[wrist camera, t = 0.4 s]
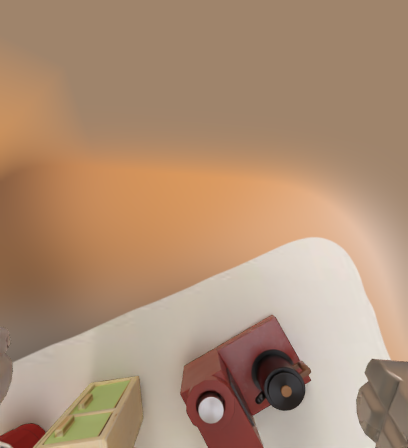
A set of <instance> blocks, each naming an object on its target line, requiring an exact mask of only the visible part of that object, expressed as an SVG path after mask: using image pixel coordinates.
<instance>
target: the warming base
mask: <svg viewBox="0 0 408 448" xmlns="http://www.w3.org/2000/svg"><path fill="white" fill-rule="evenodd" d="M217 351H218V353H219V355H220V357H221V359H222V361H223V362H224V364H225V366H226V371H227V374H228V378H229V382H230V385H231V387H232V389H233V391H234V393H235V395H236V396H237V398H238V400H239V402H240V404H241V406H242V407H243V409H244V411H245V413H246V415H247V417H248V418H249V420H250V422H251V424H252V426H255V424H254V421H253V418H252V416H251V414H252V415H255V414H256V413H258V412H260V411H261V410H263V409H265V408H266V407H268V406H270V404H269V402H268V401H267V399H266V398H265V400H264V401H263V402H262V403H261V404H257V403H256V402H255V398H256V397H257V396H258V394H259V393H260V392H261V391H262V389H261V387H260V385H259V383H258V381H257V378H256V367H257V364H258V362H259V361H260V360H261V359H262V358H263V357H264V356H266V355H269V354H278V355H281V356H283V357H284V358H285V359H286V360H287V361H288V362H289V363H290V364H291V365H293V364H295V363H297V362H298V361H300V360H299V358H298V356H297V354H296V353H295V351H294V349H293V347H292V345H291V344H290V342H289V340H288V338H287V337H286V335H285V333H284V331H283V330H282V328H281V326H280V324H279V323H278V321H277V319H276V317H274V316H273V315H271V316H269V317H268V318H266V319H264V320H262V321H261V322H259V323H257V324H255V325H254V326H252V327H250V328H249V329H247V330H245V331H243V332H242V333H240V334H238V335H237V336H235V337H233V338H231V339H230V340H228V341H226V342H225V343H223V344H221V345H219V346H218V347H217ZM296 371H297V372H298V373H299V372H301V371H303V370H302V369H301V368H299V369H297V370H296ZM303 380H304V383H305V384H306V383H308V382H310V381H311V379H310V377H309V375H308V376H306V377H304V378H303ZM250 412H251V413H250Z"/></svg>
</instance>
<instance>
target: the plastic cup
mask: <svg viewBox="0 0 408 448" xmlns="http://www.w3.org/2000/svg"><path fill="white" fill-rule="evenodd" d="M45 434H46V433H45V431H44V430H43V429H42V428H41V427H40V426H39V425H36V424H32V423H31V424H24V425H21V426H20V427H18V428H16V429H14V430H11V431H9V432H7V433H5V434H3V435H1V436H0V448H33V447H34V446H35V445H36V444H37V442H38V441H39V440H40V439H41V438H42V437H43V436H44V435H45Z"/></svg>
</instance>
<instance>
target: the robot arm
mask: <svg viewBox="0 0 408 448" xmlns="http://www.w3.org/2000/svg"><path fill="white" fill-rule="evenodd" d="M10 344H11V341H10V333H9V331H8V330H7V329H6V328H4V327H0V404H1V403H2V401H3V400H4V398H5V396H6V394H7V392H8V389H9V386H10V383H11V380H12V372H13V366H12V360H11V359H10V358H9V357H8V355H7V354H6V353H5V351H6V350H7V348H8V347H9V346H10ZM365 375H366V377H367V379H368V382H367V383H366V384H364V385H363V386H362V387H361V388H360V389H359V392H358V396H357V399H356V405H357V415H358V419H359V423H360V425H361V427H362V429H363V431H364V433H365V434H366V435H367V436H368V437H369V438H371V439H372V440H373V441H374V442H375V443H376V447H375V448H408V362H404V361H391V360H379V359H372V360H371V361H370V362H369V363H368V365H367V368H366V371H365Z"/></svg>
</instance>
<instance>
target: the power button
mask: <svg viewBox="0 0 408 448" xmlns="http://www.w3.org/2000/svg"><path fill="white" fill-rule="evenodd" d="M198 412H199V416H200V418H201V419H202V420H203V421H204V422H206V423H216V422H218V421H219V420H220V419H221V418H222V416H223V413H224V407H223V401H222V399H221V397H220V396H219V395H218V394H217V393H215V392H207V393H205V394H203V395H202V396H201V397H200V399H199V403H198Z"/></svg>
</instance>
